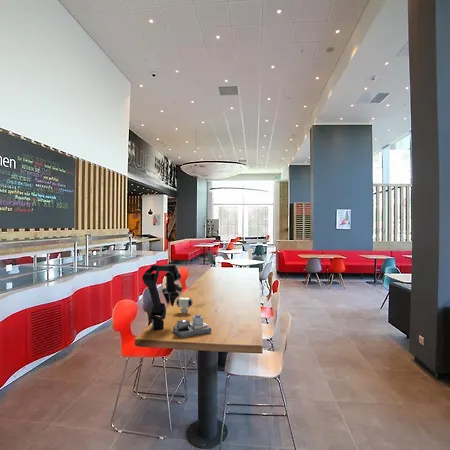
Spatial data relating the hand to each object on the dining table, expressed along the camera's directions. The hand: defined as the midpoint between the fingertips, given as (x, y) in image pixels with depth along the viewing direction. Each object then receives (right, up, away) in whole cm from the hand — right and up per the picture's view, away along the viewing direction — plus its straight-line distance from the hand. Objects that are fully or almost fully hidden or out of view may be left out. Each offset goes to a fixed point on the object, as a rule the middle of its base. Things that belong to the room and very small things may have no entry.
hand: (170, 304), depth 217 cm
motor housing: (+18, -12, -21) cm, 30 cm away
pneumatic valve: (+7, -13, +24) cm, 28 cm away
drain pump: (+21, -9, -19) cm, 30 cm away
